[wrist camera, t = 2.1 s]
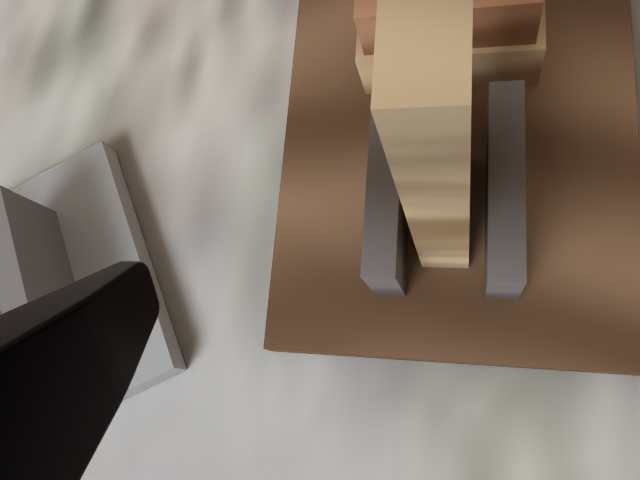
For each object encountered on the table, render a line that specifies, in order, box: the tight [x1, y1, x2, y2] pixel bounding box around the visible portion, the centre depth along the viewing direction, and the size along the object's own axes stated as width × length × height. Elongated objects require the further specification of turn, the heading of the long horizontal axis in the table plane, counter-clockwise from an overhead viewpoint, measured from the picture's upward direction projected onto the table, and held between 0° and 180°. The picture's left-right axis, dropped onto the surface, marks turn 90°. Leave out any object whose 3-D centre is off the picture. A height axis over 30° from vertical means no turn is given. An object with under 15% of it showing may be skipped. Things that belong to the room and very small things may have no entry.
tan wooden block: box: [370, 0, 473, 268], centre depth 14 cm, size 4×2×11 cm, turn 176°
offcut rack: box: [264, 0, 640, 375], centre depth 19 cm, size 15×12×4 cm
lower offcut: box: [355, 0, 546, 94], centre depth 20 cm, size 4×6×2 cm, turn 86°
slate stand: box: [0, 141, 187, 400], centre depth 22 cm, size 10×10×4 cm
